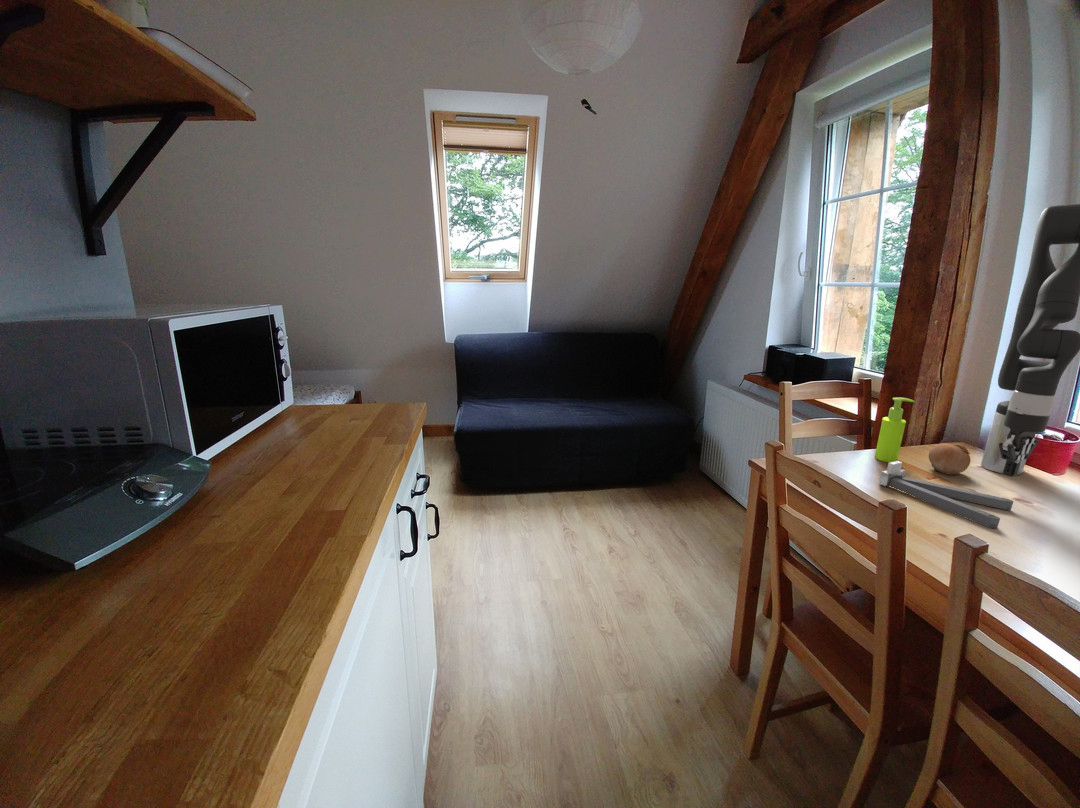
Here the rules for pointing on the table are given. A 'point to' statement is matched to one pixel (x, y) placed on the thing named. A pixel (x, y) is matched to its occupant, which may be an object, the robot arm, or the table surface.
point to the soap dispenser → (891, 433)
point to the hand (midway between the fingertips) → (1009, 475)
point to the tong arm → (963, 494)
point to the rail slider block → (891, 472)
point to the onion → (949, 458)
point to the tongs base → (946, 503)
